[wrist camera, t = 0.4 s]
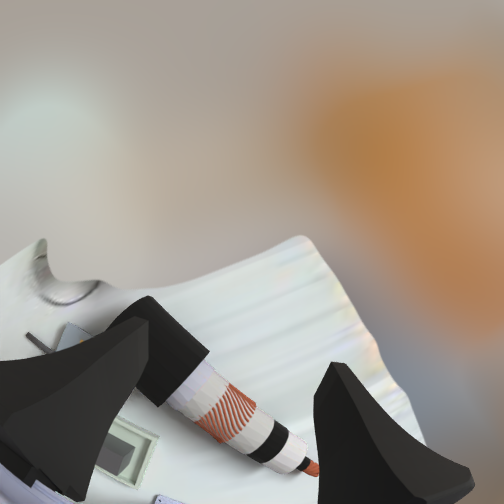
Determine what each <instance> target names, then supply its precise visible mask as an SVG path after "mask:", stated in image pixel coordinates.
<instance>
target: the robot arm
mask: <svg viewBox="0 0 504 504" xmlns="http://www.w3.org/2000/svg"><path fill="white" fill-rule="evenodd" d="M148 324H149V321H148V320H145V319H142V318H139V317H136V316H134V317H132V318H130V319H128V320H126V321H124V322H122V323H120V324H118V325H117V326H115V327H113V328H111V329H109V330H107V331H105V332H103V333H101V334H99V335H97V336H95V337H92V338H90V339H88V340H85V341H83V342H81V343H79V344H76V345H74V346H71V347H69V348H66V349H63V350H60V351H56V352H53V353H50V354H46V355H41V356H36V357H32V358H27V359H19V360H10V361H0V504H74V503H72V502H70V501H69V500H67V499H65V498H64V497H62V496H60V495H59V494H57V493H56V492H55V491H57V492H58V493H60V494H61V495H63V496H64V495H65V496H67V497H69V498H70V499H72V500H74V501H76V502H81V501H84V500H85V498H86V494H87V490H88V486H89V483H90V479H91V476H92V473H93V470H94V467H95V464H96V461H97V458H98V456H99V453H100V450H101V448H102V445H103V443H104V440H105V438H106V436H107V434H108V431H109V429H110V427H111V425H112V423H113V421H114V419H115V417H116V416H117V414H118V413H119V411H120V409H121V408H122V406H123V405H124V403H125V401H126V400H127V398H128V397H129V395H130V393H131V392H132V390H133V389H134V387H135V385H136V384H137V382H138V381H139V379H140V377H141V375H142V373H143V370H144V368H145V366H146V364H147V361H148ZM313 418H314V426H315V435H316V443H317V451H318V460H319V492H318V504H454V503H456V502H457V501H458V500H460V499H461V498H463V497H464V496H466V495H467V494H468V493H469V492H470V491H472V489H473V488H474V486H475V483H474V480H473V477H472V475H471V472H470V470H469V468H467V467H465V466H462V465H460V464H458V463H455V462H453V461H451V460H449V459H447V458H444V457H443V456H441V455H439V454H437V453H436V452H434V451H432V450H431V449H429V448H427V447H426V446H425V445H423V444H422V443H420V442H419V441H418V440H416V439H415V438H414V437H412V436H411V435H410V434H409V433H407V432H406V431H405V430H404V429H403V428H402V427H401V426H399V425H398V424H397V423H396V422H395V421H394V420H393V419H392V418H391V417H390V416H389V415H388V414H387V413H386V412H385V411H384V410H383V408H382V407H381V406H380V405H379V404H378V403H377V402H376V401H375V399H374V398H373V397H372V396H371V395H370V393H369V392H368V391H367V390H366V388H365V387H364V386H363V385H362V383H361V382H360V381H359V380H358V378H357V377H356V376H355V374H354V373H353V372H352V371H351V369H350V368H349V367H348V366H347V365H346V364H345V363H338V362H331V363H330V365H329V367H328V369H327V371H326V373H325V375H324V377H323V379H322V381H321V383H320V385H319V387H318V389H317V391H316V393H315V395H314V407H313ZM158 499H160V500H161V501H159V500H158ZM155 504H183V503H180V502H177V501H175V500H172V499H169V498H167V497H164V496H162V495H158V496H157V499H156V501H155Z"/></svg>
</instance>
